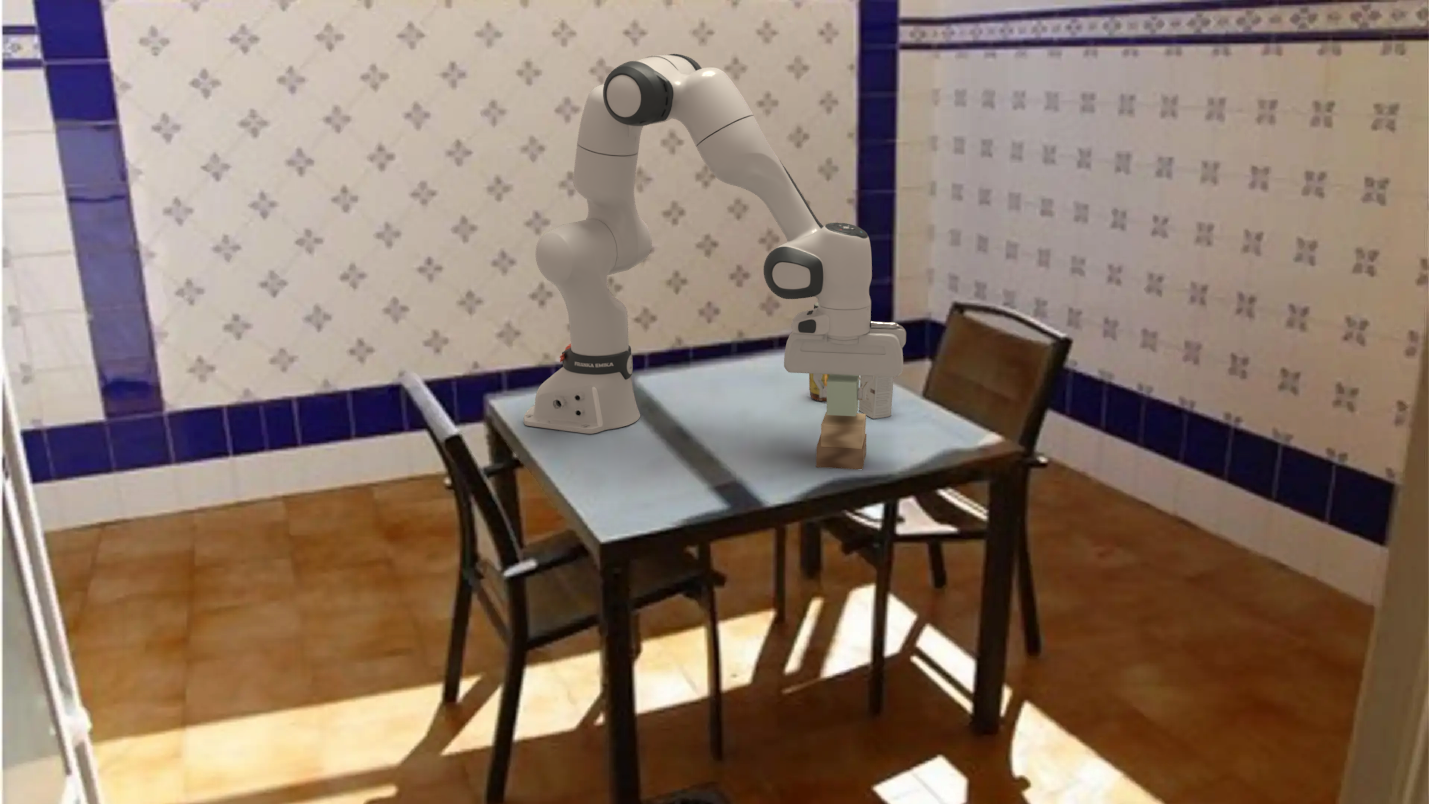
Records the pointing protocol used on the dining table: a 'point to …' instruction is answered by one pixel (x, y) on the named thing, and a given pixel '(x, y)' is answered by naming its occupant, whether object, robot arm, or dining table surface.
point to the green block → (842, 395)
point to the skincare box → (877, 397)
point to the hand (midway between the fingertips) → (842, 398)
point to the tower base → (840, 457)
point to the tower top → (843, 431)
